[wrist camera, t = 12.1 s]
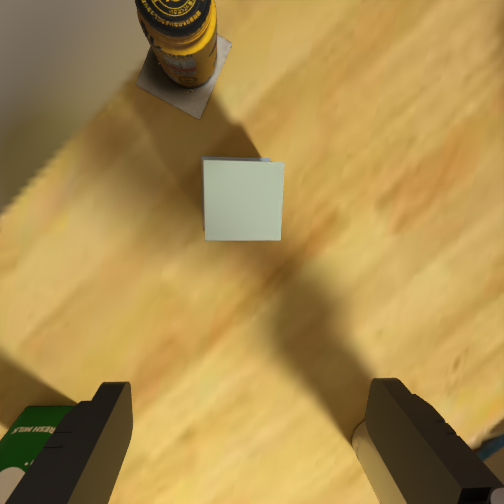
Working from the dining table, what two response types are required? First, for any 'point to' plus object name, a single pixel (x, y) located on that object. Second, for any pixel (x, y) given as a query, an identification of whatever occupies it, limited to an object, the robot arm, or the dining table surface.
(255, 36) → the dining table surface
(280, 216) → the green block
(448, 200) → the dining table surface
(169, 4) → the condiment
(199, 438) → the dining table surface
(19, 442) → the milk carton
